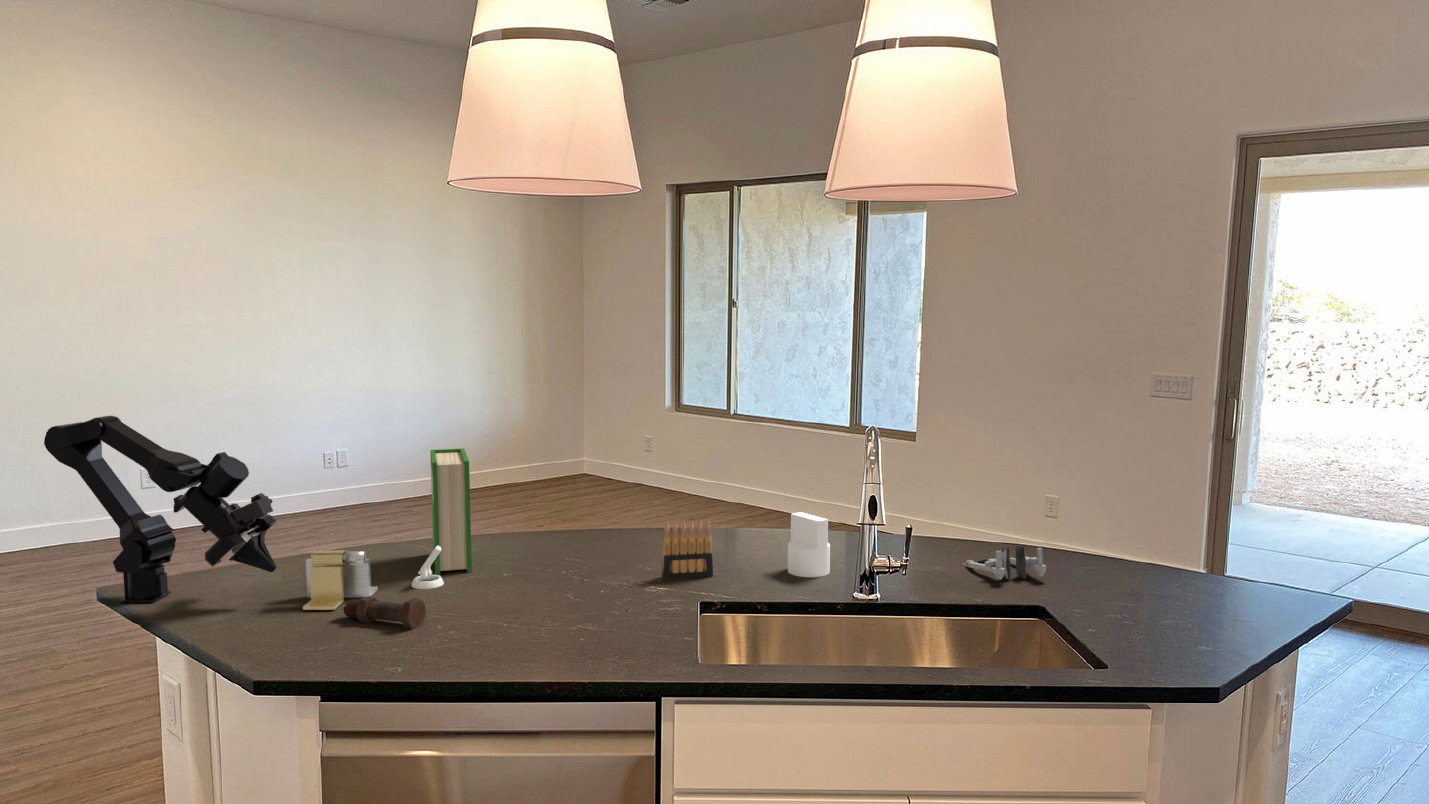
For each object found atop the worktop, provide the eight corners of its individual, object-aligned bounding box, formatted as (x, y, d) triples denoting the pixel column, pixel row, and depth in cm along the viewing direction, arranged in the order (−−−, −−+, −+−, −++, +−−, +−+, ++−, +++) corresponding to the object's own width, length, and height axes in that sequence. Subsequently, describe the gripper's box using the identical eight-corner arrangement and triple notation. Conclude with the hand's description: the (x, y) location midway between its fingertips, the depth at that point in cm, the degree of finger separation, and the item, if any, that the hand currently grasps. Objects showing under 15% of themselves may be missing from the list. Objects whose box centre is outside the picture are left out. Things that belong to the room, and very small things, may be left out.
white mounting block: (300, 602, 188) (298, 553, 187) (317, 589, 197) (315, 541, 196) (363, 602, 188) (361, 553, 187) (377, 589, 197) (376, 541, 196)
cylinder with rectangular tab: (778, 569, 212) (779, 515, 211) (809, 563, 218) (810, 510, 216) (807, 579, 205) (807, 523, 204) (838, 572, 211) (839, 517, 209)
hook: (457, 568, 197) (432, 554, 195) (431, 605, 199) (406, 591, 197) (462, 554, 203) (437, 540, 201) (436, 589, 205) (412, 576, 203)
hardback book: (471, 572, 209) (469, 461, 207) (435, 575, 207) (432, 462, 204) (466, 551, 226) (464, 448, 223) (433, 553, 224) (430, 449, 221)
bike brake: (1054, 579, 204) (1007, 567, 223) (1052, 546, 204) (1005, 537, 223) (993, 584, 201) (951, 571, 220) (992, 550, 201) (949, 541, 221)
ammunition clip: (663, 579, 205) (663, 523, 203) (661, 577, 207) (661, 521, 205) (713, 576, 207) (713, 520, 206) (711, 574, 209) (711, 518, 208)
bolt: (352, 626, 181) (421, 633, 176) (334, 620, 177) (405, 627, 172) (360, 595, 183) (429, 601, 178) (343, 588, 179) (413, 594, 174)
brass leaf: (302, 609, 183) (300, 560, 182) (317, 597, 190) (315, 550, 189) (334, 609, 183) (332, 560, 182) (347, 597, 191) (346, 550, 190)
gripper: (220, 493, 176) (284, 554, 177) (264, 473, 194) (322, 529, 196) (177, 535, 176) (241, 596, 178) (225, 512, 195) (283, 567, 197)
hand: (274, 570), depth 187 cm, fingers closed
